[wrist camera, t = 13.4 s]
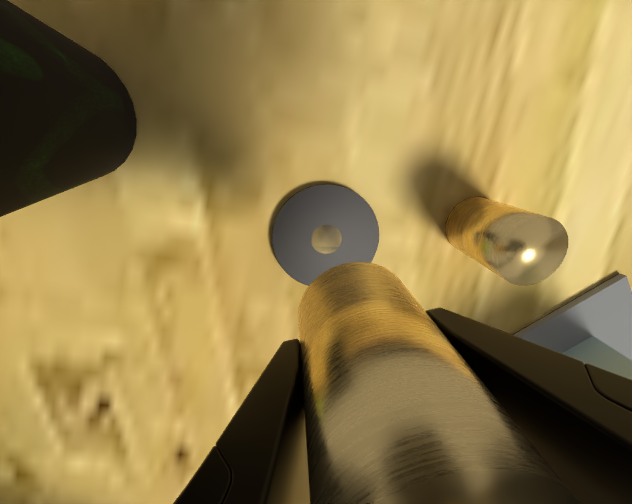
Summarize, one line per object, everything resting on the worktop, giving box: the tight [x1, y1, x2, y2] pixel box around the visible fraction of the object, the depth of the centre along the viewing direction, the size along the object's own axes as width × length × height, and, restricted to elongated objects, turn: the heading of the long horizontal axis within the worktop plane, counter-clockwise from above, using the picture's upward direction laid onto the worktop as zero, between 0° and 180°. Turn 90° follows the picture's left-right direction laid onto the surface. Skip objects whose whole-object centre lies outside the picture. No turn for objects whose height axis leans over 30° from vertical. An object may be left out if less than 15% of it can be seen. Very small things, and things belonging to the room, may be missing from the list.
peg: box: [298, 262, 580, 504], centre depth 7 cm, size 3×3×6 cm
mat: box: [514, 274, 632, 361], centre depth 22 cm, size 12×12×1 cm
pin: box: [446, 197, 568, 285], centre depth 15 cm, size 3×3×4 cm
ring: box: [272, 184, 379, 286], centre depth 16 cm, size 6×6×1 cm
